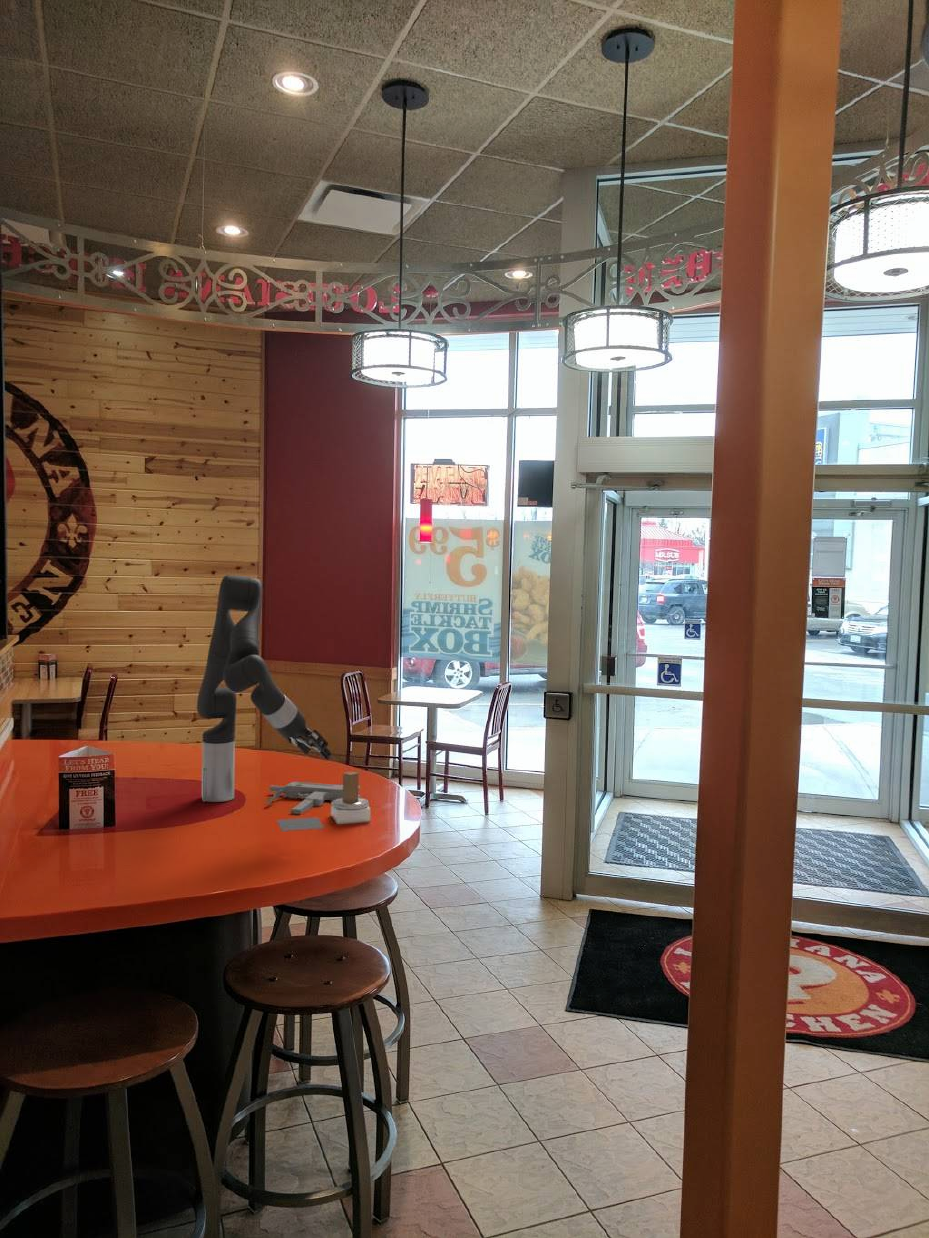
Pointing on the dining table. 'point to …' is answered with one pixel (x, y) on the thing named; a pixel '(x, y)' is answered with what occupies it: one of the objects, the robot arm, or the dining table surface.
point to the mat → (300, 824)
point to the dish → (350, 815)
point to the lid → (350, 794)
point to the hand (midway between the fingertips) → (318, 754)
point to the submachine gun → (308, 794)
